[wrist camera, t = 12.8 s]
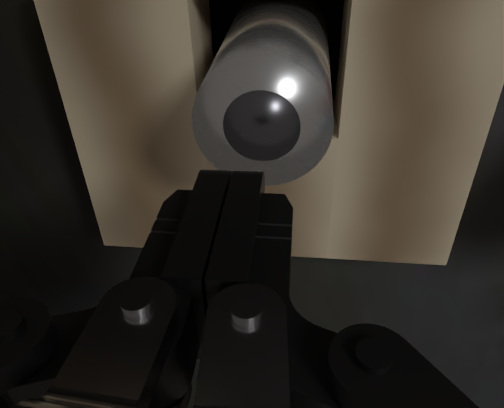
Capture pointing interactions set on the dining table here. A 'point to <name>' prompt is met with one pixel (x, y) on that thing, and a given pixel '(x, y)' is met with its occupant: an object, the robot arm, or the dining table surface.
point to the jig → (344, 113)
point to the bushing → (268, 93)
